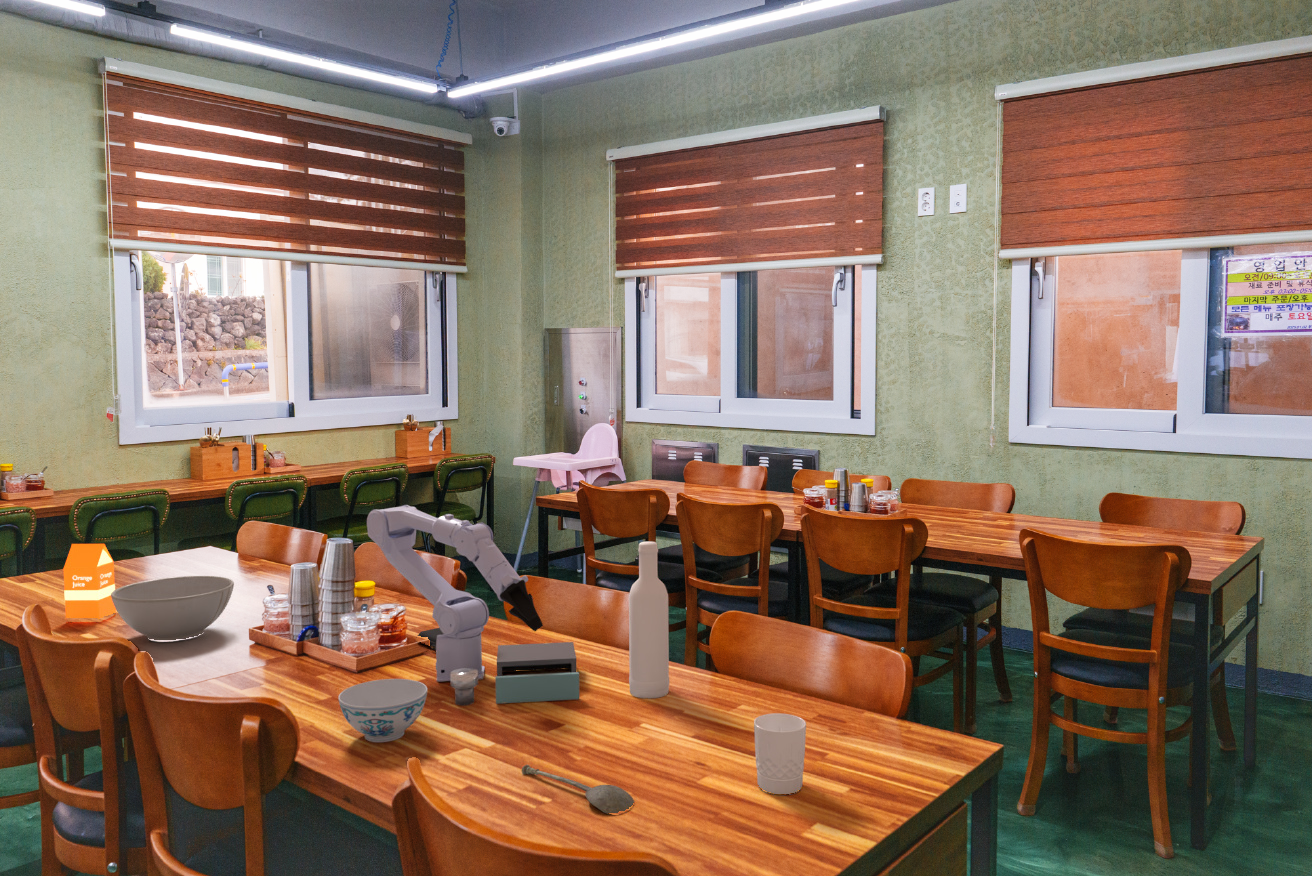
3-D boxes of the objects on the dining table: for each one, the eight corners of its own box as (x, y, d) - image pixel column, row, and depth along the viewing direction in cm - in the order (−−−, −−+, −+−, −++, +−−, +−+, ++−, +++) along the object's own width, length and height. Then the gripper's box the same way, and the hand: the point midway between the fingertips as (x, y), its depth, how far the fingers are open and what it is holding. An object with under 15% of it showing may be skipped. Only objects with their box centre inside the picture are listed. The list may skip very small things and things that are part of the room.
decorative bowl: (258, 631, 238) (256, 583, 237) (152, 658, 215) (150, 605, 214) (195, 617, 252) (193, 571, 251) (90, 641, 229) (88, 591, 229)
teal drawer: (495, 703, 183) (495, 678, 183) (497, 683, 195) (497, 659, 194) (579, 699, 185) (579, 673, 185) (575, 679, 197) (575, 656, 196)
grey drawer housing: (497, 688, 192) (496, 662, 192) (498, 670, 204) (498, 645, 204) (576, 684, 194) (576, 658, 194) (573, 667, 206) (573, 642, 206)
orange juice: (99, 623, 246) (95, 546, 245) (65, 623, 246) (61, 546, 245) (116, 615, 254) (113, 541, 253) (83, 615, 254) (80, 541, 253)
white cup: (749, 776, 149) (749, 714, 149) (799, 774, 150) (799, 712, 149) (759, 798, 142) (759, 732, 141) (811, 796, 142) (811, 730, 142)
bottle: (677, 691, 189) (676, 542, 187) (650, 702, 184) (649, 547, 182) (648, 683, 195) (647, 538, 193) (620, 692, 189) (619, 543, 187)
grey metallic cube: (454, 706, 182) (454, 688, 182) (456, 699, 186) (455, 682, 186) (473, 704, 183) (473, 687, 183) (474, 698, 186) (474, 681, 186)
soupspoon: (613, 827, 135) (643, 813, 140) (614, 804, 135) (644, 791, 140) (509, 780, 149) (540, 769, 154) (510, 759, 149) (541, 748, 154)
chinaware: (444, 725, 172) (443, 683, 172) (396, 756, 158) (395, 711, 158) (374, 716, 177) (373, 675, 177) (321, 746, 163) (319, 701, 163)
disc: (449, 689, 181) (449, 677, 181) (451, 680, 186) (451, 668, 186) (477, 688, 182) (477, 675, 182) (478, 679, 187) (478, 667, 187)
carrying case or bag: (409, 644, 226) (441, 657, 215) (408, 631, 226) (441, 644, 215) (448, 636, 233) (481, 648, 222) (448, 623, 233) (481, 635, 222)
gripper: (507, 547, 188) (547, 599, 183) (519, 571, 201) (557, 620, 196) (478, 568, 186) (517, 621, 181) (492, 591, 199) (528, 641, 194)
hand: (536, 622), depth 189 cm, fingers open, 7 cm apart
